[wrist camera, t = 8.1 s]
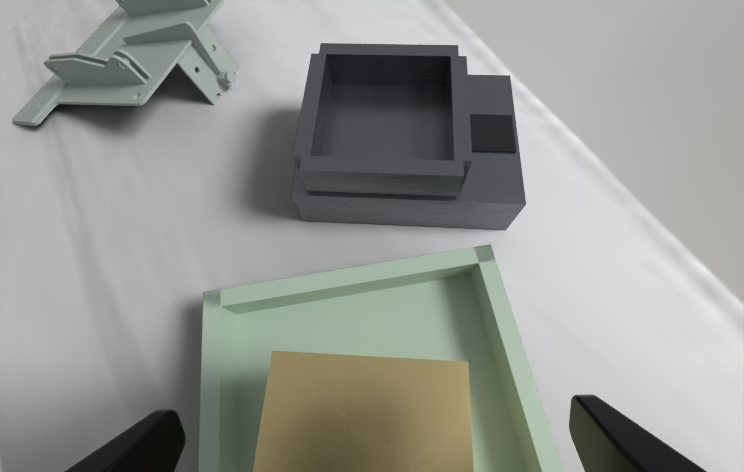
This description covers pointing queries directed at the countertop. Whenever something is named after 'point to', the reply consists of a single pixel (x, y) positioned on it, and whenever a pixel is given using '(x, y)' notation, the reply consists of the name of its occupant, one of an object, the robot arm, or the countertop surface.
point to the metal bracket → (137, 58)
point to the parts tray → (375, 349)
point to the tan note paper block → (364, 415)
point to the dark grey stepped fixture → (406, 140)
